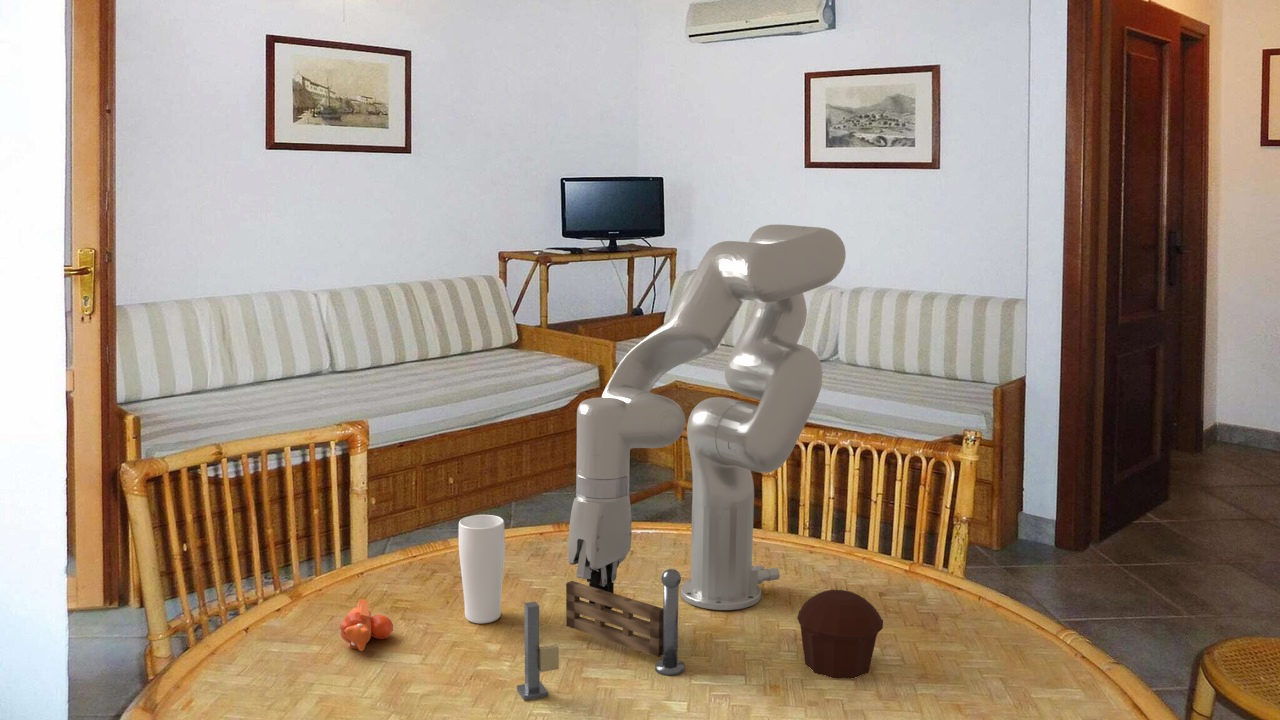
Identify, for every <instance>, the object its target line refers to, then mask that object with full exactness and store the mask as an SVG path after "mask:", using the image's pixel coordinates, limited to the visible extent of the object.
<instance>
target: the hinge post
mask: <svg viewBox="0 0 1280 720" xmlns="http://www.w3.org/2000/svg"><path fill="white" fill-rule="evenodd" d="M681 582H682V577H681V573H680V572H679V570H676V569H675V568H668V569H666V570H664V571H663V572H662V575H661V583H662V585H663V599H662V600H663V601H662V602H663V605H662V606H663V607H662V608H663V655H662V659H659V660H657V661H656V662H655V663H654V670H655V672H656V673H658V674H659V675H662V676H667V677H668V676H670V677H672V676H673V677H675V676H678V675H681V674H684V672H685V670H686V666H685V665H686V664H685V663H684V662H683V661H682V660H680V659H678V651H679V649H678V648H679V647H678V646H679V645H678V644H679V642H678V641H679V599H680V598H679V591H680V590H679V587H680V584H681Z"/></svg>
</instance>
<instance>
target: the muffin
mask: <svg viewBox="0 0 1280 720" xmlns="http://www.w3.org/2000/svg"><path fill="white" fill-rule="evenodd" d="M796 618H797V620H798V623H799V626H800V633H801V641H802V648H803V656H804V657H803V658H804V665H805V664H806V665H807V666H806V665H805V666H806V667H808V668H809V667H810V668H811V669H812V670H813V671H812V670H811V669H810V668H809V669H810V670H811V671H812V672H813V673H814V674H816V673H817V675H820V674H822V675H821V676H824V675H826V676H825V677H827V676H828V678H830V677H831V679H833V678H837V679H851V678H855V677H857V678H858V676H859V677H861V676H863V675H862V674H864V675H866V674H865V673H868V672H869V671H870V667H871V665H870V664H872V659H873V655H874V649H875V645H876V642H877V640H876V639H877V636H878V633H880V631H881V630H883V628H884V620H883V619H882V617H881V615H880V613H879V612H878V611H877V609H876V608H875V606H874V605H872V604H871V603H870V602H869V601H868V600H867V599H866V598H864V597H862V596H861V595H859V594H857V593H855V592H852V591H848V590H844V589H829V590H823V591H822V592H819V593H817V594H815V595H813V596H812V597H810V598H808V599H807V600H806V601H805V602H804V603H803V605H802V606H801V608H800V610H798V615H797V617H796ZM868 674H869V673H868ZM860 675H861V676H860ZM855 679H856V678H855Z"/></svg>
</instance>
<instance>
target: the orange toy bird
mask: <svg viewBox="0 0 1280 720" xmlns="http://www.w3.org/2000/svg"><path fill="white" fill-rule="evenodd" d="M339 628H340V633H339V634H340V638H342V640H344V641H345V642H347V643H348V644H349V648H350V649H355V650H358V651H360V652H363V651H364V650H365V648H366V644H367V643H368V642H369V641H370V640H371V638H372V637H373V638H375V639H378V640H385V639H388V638H389V637H390V635H391V634H393V632H394V624H393V622H392V620H391V619H390V618H389V617H388V616H385V615H383V614H375V615H372V613H371V612H370V604H368V600H367V599H363V598H359V599H358V603H357V607H354V608H351V610H350V611H349V612H348V614H347V615H346V616H345V617H344V619H343V620H342V622H341V623H340V627H339Z"/></svg>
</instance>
